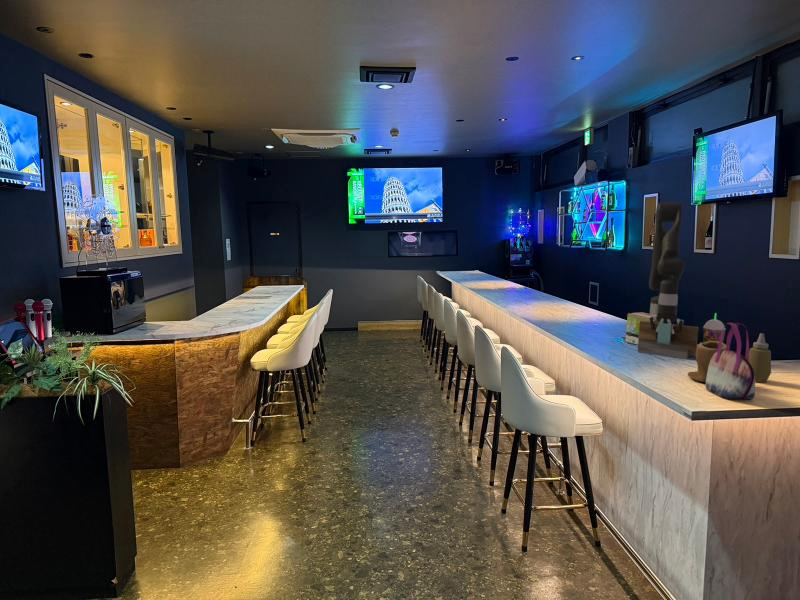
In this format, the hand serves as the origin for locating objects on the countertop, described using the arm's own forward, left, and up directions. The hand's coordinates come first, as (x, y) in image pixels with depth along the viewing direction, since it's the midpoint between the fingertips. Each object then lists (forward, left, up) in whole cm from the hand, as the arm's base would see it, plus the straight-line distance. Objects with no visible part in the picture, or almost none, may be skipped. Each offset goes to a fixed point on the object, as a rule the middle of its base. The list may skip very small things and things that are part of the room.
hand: (664, 340), depth 236 cm
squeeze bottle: (+22, +37, -6) cm, 44 cm away
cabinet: (0, 0, -2) cm, 2 cm away
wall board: (-1, 0, -6) cm, 6 cm away
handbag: (+48, +31, -6) cm, 58 cm away
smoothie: (-6, +18, -6) cm, 20 cm away
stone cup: (+34, +24, -6) cm, 43 cm away
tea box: (-16, -12, -6) cm, 21 cm away
